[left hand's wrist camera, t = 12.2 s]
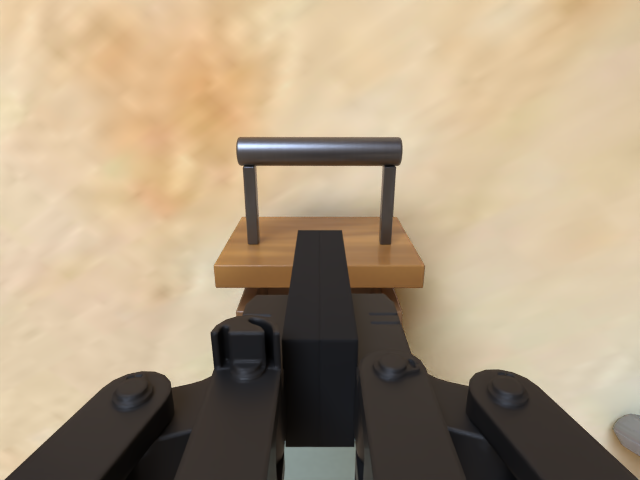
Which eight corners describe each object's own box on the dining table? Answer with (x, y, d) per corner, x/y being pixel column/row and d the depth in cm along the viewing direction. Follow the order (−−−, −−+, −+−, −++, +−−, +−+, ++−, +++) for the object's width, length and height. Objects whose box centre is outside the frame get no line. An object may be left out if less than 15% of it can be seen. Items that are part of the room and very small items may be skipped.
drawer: (235, 127, 26) (202, 145, 18) (403, 127, 26) (436, 145, 18) (253, 400, 33) (234, 492, 25) (384, 400, 33) (403, 492, 25)
